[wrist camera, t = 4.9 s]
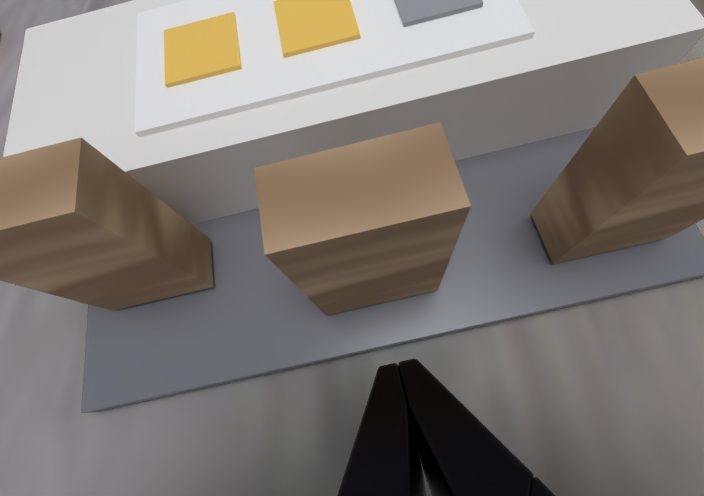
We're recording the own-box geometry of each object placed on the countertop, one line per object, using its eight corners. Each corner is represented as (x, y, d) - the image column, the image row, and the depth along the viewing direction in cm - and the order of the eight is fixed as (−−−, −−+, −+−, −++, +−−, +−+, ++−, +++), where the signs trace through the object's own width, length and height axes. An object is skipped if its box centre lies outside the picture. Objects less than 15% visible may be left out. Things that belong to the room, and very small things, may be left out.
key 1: (670, 237, 16) (913, 102, 8) (552, 264, 16) (687, 155, 8) (641, 187, 17) (836, 25, 9) (530, 213, 17) (634, 74, 9)
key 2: (213, 287, 17) (74, 211, 10) (112, 310, 18) (-98, 253, 10) (210, 239, 18) (81, 137, 11) (114, 262, 19) (-78, 177, 11)
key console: (705, 276, 16) (886, 210, 10) (98, 411, 17) (-64, 424, 11) (544, 2, 23) (596, -136, 17) (113, 112, 24) (16, 19, 18)
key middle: (438, 290, 16) (470, 206, 9) (326, 315, 16) (264, 254, 9) (422, 238, 17) (440, 122, 10) (316, 263, 17) (253, 167, 10)
